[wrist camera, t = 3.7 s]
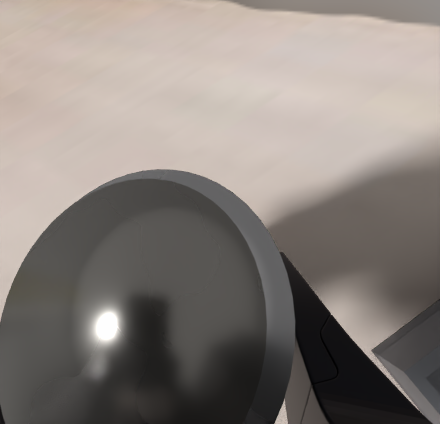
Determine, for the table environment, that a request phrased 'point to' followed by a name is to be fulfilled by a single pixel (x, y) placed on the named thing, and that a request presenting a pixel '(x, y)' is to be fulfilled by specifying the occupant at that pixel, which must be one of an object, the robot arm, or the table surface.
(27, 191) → the table surface
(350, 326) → the table surface
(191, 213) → the cup
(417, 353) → the bin
